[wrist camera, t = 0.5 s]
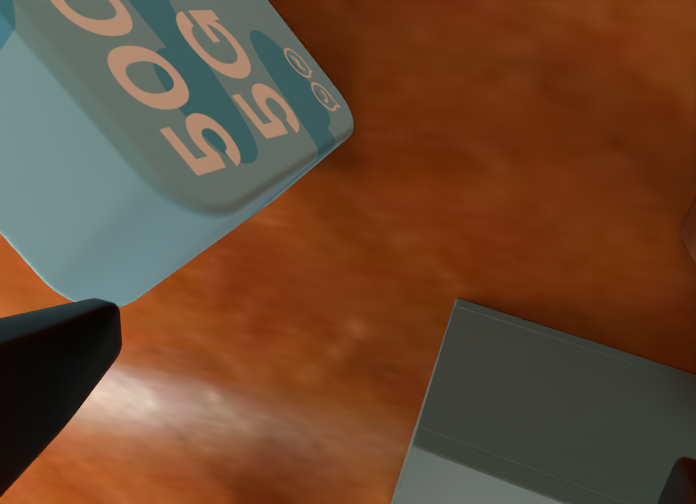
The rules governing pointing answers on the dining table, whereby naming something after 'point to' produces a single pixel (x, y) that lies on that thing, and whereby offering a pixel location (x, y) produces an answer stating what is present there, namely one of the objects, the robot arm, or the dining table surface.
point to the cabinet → (543, 419)
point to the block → (690, 231)
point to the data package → (149, 132)
